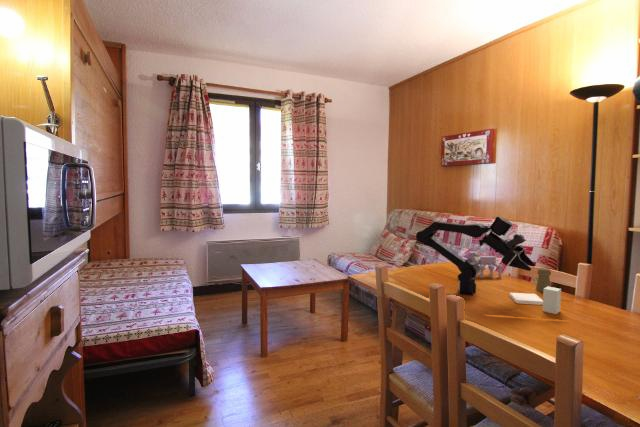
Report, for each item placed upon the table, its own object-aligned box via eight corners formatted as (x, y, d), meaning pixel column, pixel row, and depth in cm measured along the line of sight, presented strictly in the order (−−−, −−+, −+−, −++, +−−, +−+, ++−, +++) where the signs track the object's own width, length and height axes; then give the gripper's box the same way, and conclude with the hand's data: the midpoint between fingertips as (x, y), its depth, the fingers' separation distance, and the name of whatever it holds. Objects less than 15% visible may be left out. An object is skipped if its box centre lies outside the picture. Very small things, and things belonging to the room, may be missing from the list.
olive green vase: (553, 294, 155) (554, 270, 154) (538, 293, 156) (539, 269, 156) (547, 290, 161) (548, 267, 160) (533, 289, 162) (534, 266, 161)
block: (542, 312, 134) (543, 288, 133) (546, 310, 136) (547, 286, 136) (556, 316, 130) (557, 291, 129) (559, 313, 133) (561, 288, 132)
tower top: (516, 303, 142) (516, 299, 142) (509, 295, 152) (509, 292, 152) (544, 305, 140) (544, 301, 140) (535, 297, 150) (535, 293, 149)
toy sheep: (466, 279, 181) (466, 253, 181) (457, 274, 192) (457, 250, 191) (504, 278, 182) (504, 252, 181) (493, 274, 192) (493, 249, 192)
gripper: (504, 231, 139) (542, 256, 131) (514, 226, 153) (549, 249, 145) (487, 253, 143) (523, 278, 135) (498, 246, 157) (531, 269, 150)
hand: (532, 267), depth 141 cm, fingers open, 9 cm apart
